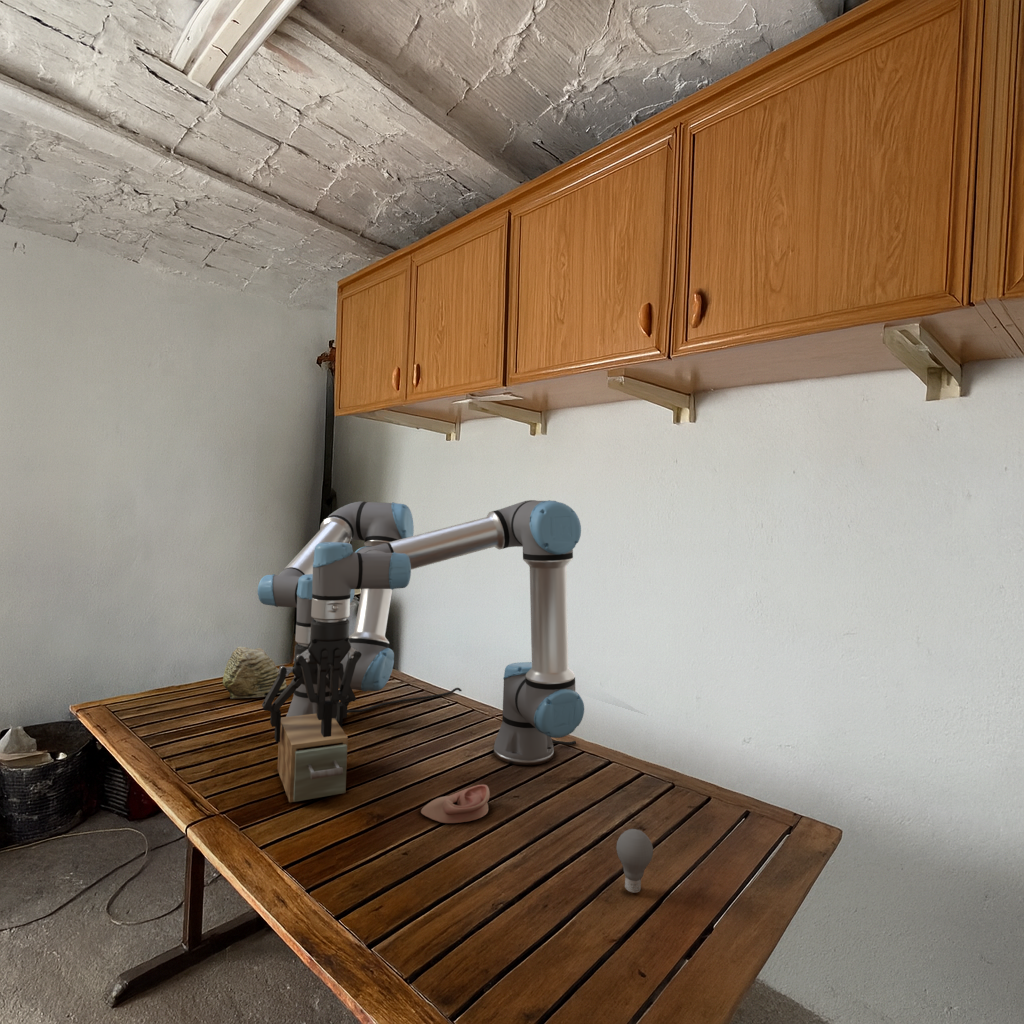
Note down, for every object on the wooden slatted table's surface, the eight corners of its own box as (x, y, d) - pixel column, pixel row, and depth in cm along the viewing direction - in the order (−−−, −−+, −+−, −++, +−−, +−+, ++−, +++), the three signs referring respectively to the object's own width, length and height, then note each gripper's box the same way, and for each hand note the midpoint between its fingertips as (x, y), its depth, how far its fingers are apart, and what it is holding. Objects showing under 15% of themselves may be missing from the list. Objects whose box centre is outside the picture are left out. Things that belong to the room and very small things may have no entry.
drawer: (352, 804, 129) (353, 755, 129) (299, 814, 124) (301, 764, 124) (329, 763, 148) (330, 721, 148) (282, 771, 143) (284, 727, 143)
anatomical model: (416, 799, 126) (434, 775, 137) (415, 819, 126) (433, 793, 137) (480, 808, 123) (494, 783, 134) (479, 829, 123) (493, 802, 134)
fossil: (218, 695, 195) (220, 647, 195) (278, 685, 208) (279, 640, 207) (228, 703, 189) (230, 653, 188) (289, 692, 201) (290, 645, 201)
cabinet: (345, 792, 136) (347, 737, 136) (289, 802, 131) (291, 744, 130) (328, 761, 151) (330, 711, 151) (277, 769, 146) (279, 717, 146)
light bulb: (610, 879, 108) (613, 822, 108) (644, 879, 109) (647, 822, 109) (619, 902, 102) (622, 840, 102) (655, 901, 103) (658, 840, 103)
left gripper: (255, 650, 134) (251, 749, 135) (371, 643, 146) (367, 734, 146) (251, 642, 141) (247, 737, 141) (362, 636, 153) (359, 723, 153)
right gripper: (300, 624, 122) (295, 745, 122) (367, 620, 128) (362, 736, 128) (293, 616, 128) (289, 732, 129) (357, 613, 135) (353, 724, 135)
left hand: (308, 736), depth 144 cm, fingers open, 13 cm apart
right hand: (326, 734), depth 129 cm, fingers closed
